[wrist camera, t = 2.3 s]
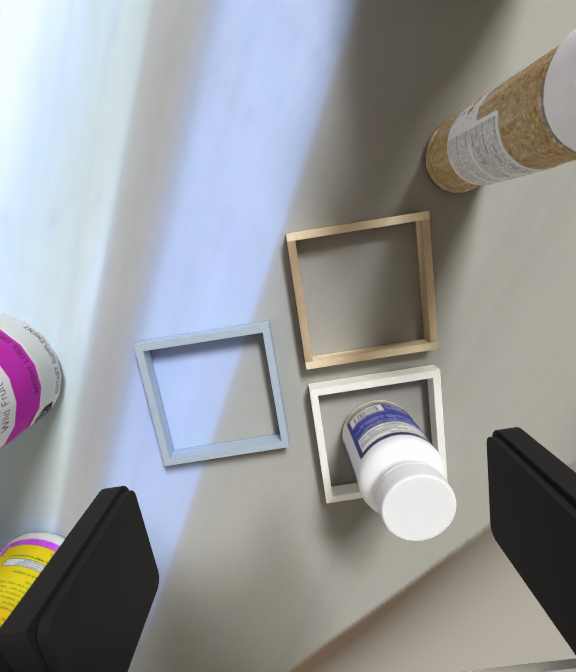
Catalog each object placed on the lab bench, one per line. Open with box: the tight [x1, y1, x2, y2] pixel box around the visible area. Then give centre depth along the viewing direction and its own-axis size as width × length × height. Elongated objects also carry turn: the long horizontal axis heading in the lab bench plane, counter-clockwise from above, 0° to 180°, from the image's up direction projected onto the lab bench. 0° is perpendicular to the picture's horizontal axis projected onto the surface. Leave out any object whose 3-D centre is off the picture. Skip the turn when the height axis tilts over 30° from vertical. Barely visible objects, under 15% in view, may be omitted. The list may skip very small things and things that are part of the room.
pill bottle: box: [342, 400, 456, 541], centre depth 25 cm, size 5×5×9 cm
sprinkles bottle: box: [426, 27, 576, 193], centre depth 18 cm, size 5×5×14 cm
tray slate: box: [134, 321, 290, 466], centre depth 27 cm, size 9×9×1 cm
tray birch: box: [286, 211, 439, 369], centre depth 26 cm, size 9×9×1 cm
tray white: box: [308, 365, 447, 503], centre depth 29 cm, size 9×9×1 cm
